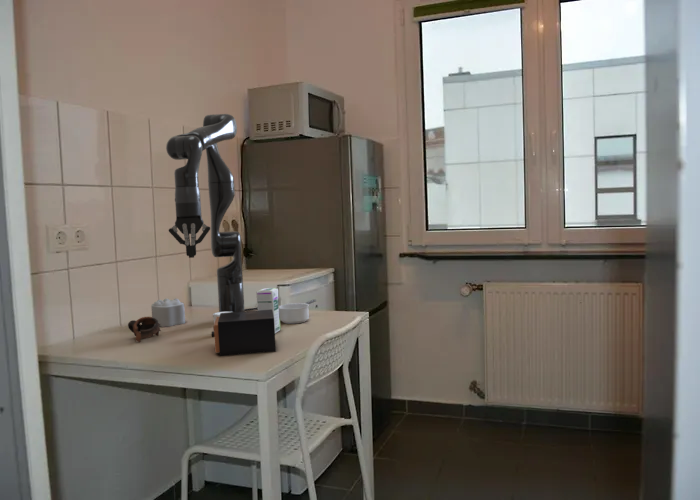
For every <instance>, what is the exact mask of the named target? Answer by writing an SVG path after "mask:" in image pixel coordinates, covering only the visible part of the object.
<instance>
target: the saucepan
mask: <svg viewBox="0 0 700 500" xmlns="http://www.w3.org/2000/svg"><path fill="white" fill-rule="evenodd" d="M315 302H317V299H311V300H308V301H306V302H304V303H303V302H295V303H284V304H279V312H280V322H282V324H289V325H291V324H293V325H294V324H301V323H305V322H306V321H308V320H309V319H310V311H309V307H310V305H311V304H313V303H315Z"/></svg>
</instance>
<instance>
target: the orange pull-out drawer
mask: <svg viewBox="0 0 700 500" xmlns="http://www.w3.org/2000/svg"><path fill="white" fill-rule="evenodd" d="M218 320H219V317H216V320H215V324H214V323H213V331H211V338H214V352H215V354H216V353H220V350H219V333H218Z"/></svg>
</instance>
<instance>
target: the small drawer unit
mask: <svg viewBox="0 0 700 500" xmlns="http://www.w3.org/2000/svg"><path fill="white" fill-rule="evenodd" d="M218 333H219V350H220V352H219V357H225V356H227V357H228V356H237V355H238V356H239V355H250V354H260V353H274V352H276V351H277V348H276V334H275V327H274V316H273V311H272V310H258V309H257V310H250V311H244V312H230V313H220V317H219V320H218Z"/></svg>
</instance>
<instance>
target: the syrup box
mask: <svg viewBox="0 0 700 500" xmlns="http://www.w3.org/2000/svg"><path fill="white" fill-rule="evenodd" d="M255 293H256V294H255V295H256V305H257V311H258V310H272V311H273V316H274V327H275V335H276V333H278V332H279V331H281V329H282V327H281V321H280V312H279V306H280V300H279V288H278V287H266V288H261V289H259V290H257V291H256V292H255Z"/></svg>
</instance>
